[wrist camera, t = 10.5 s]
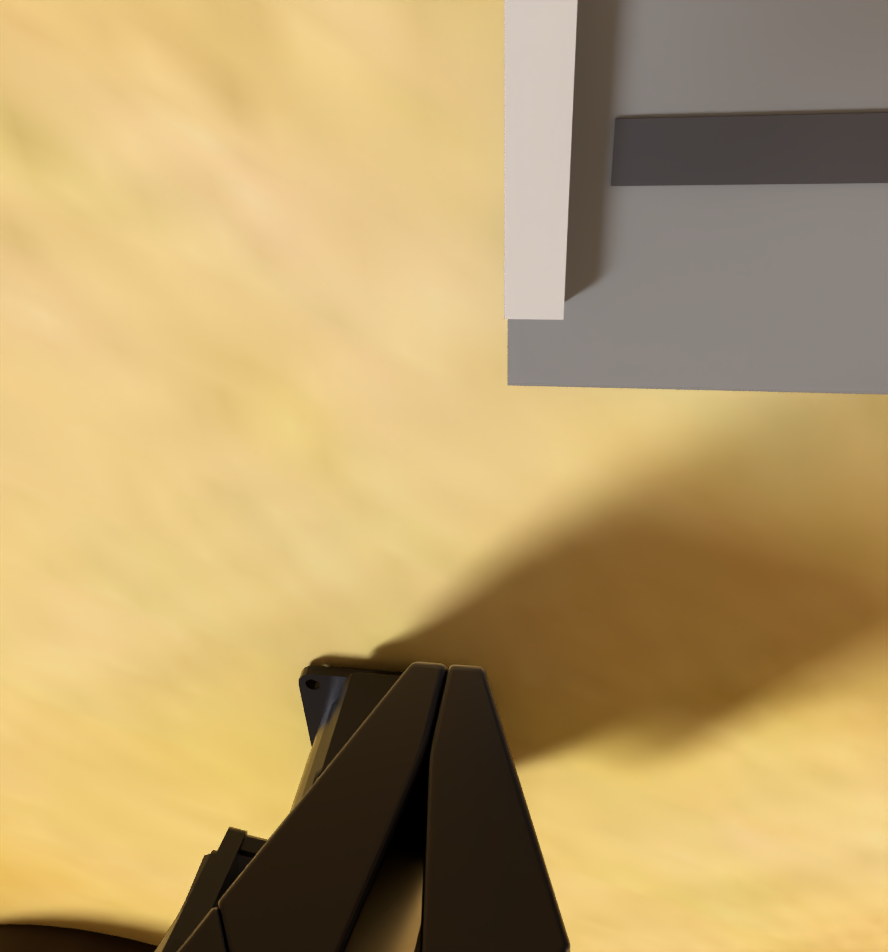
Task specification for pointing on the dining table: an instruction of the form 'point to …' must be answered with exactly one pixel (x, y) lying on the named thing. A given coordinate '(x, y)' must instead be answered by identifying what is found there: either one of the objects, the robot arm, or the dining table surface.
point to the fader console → (697, 194)
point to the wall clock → (64, 940)
